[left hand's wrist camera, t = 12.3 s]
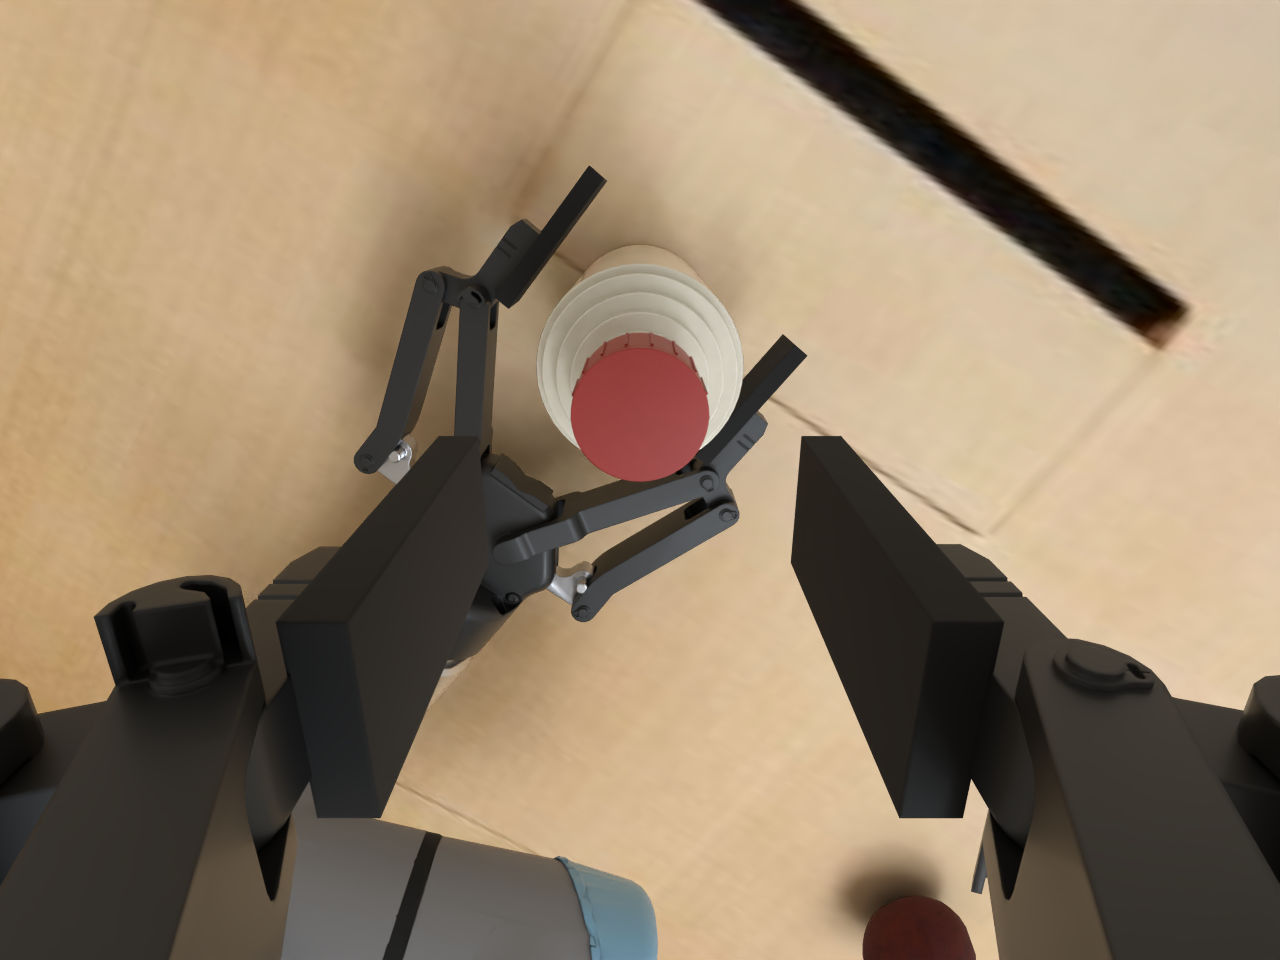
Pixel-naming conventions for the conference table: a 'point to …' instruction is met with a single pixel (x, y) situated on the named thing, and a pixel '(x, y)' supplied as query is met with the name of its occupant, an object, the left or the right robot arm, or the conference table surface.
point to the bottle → (639, 328)
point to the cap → (640, 407)
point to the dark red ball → (916, 932)
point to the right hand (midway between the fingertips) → (700, 262)
